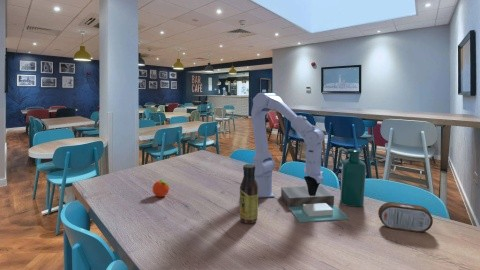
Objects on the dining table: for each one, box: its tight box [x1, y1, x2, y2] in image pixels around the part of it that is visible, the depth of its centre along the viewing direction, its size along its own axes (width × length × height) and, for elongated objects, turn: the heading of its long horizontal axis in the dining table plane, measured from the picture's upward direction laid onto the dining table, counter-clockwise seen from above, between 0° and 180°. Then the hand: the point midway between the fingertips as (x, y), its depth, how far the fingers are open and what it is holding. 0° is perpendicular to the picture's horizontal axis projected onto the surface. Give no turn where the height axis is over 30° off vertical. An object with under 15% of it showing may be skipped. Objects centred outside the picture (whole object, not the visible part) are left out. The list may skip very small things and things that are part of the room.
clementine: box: [152, 179, 170, 197], centre depth 116 cm, size 8×7×7 cm
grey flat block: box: [280, 185, 335, 208], centre depth 110 cm, size 18×12×4 cm, turn 96°
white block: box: [303, 203, 333, 216], centre depth 99 cm, size 9×6×2 cm, turn 97°
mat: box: [288, 204, 350, 223], centre depth 99 cm, size 18×12×1 cm, turn 96°
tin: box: [377, 201, 434, 233], centre depth 86 cm, size 15×3×8 cm, turn 70°
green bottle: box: [339, 146, 367, 208], centre depth 107 cm, size 10×8×22 cm
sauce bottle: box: [239, 163, 259, 224], centre depth 92 cm, size 7×6×20 cm
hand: (312, 195), depth 104 cm, fingers closed
